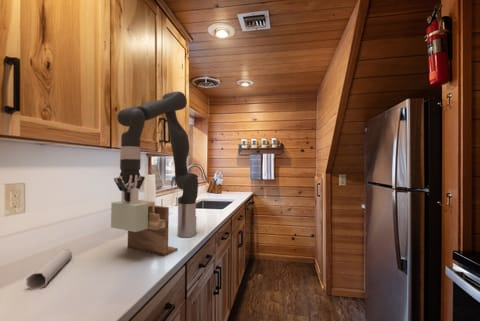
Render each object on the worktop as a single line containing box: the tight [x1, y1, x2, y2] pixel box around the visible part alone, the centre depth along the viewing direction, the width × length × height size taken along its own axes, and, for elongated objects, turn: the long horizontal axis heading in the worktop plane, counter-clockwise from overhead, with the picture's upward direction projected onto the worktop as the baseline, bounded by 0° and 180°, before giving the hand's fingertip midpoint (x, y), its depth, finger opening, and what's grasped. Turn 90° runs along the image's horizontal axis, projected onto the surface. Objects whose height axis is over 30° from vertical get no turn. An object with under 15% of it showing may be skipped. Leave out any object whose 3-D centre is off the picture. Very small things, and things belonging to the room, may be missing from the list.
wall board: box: [127, 205, 179, 257], centre depth 109 cm, size 12×22×20 cm, turn 64°
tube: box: [25, 247, 73, 291], centre depth 87 cm, size 5×5×25 cm
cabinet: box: [110, 188, 156, 232], centre depth 102 cm, size 10×14×16 cm
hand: (129, 201), depth 100 cm, fingers closed on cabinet, 1 cm apart
